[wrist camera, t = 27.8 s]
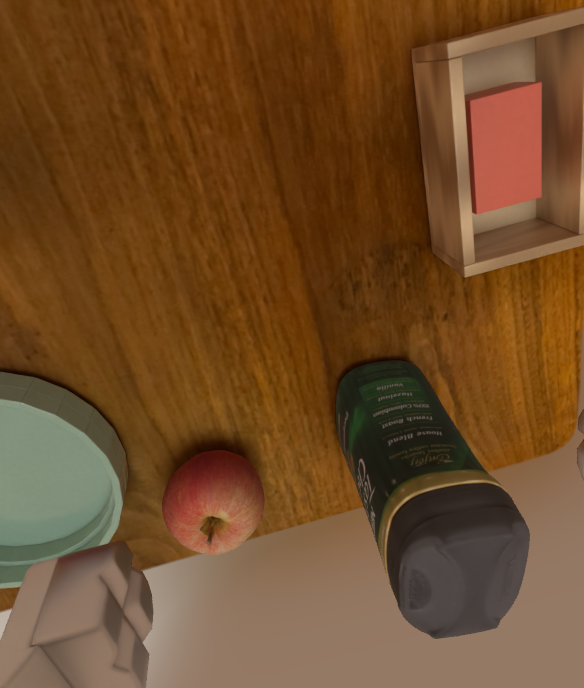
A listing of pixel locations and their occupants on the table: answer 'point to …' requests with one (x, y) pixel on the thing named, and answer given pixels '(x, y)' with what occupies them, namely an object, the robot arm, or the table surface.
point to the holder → (452, 147)
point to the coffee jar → (429, 503)
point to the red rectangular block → (504, 145)
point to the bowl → (54, 475)
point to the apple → (213, 502)
